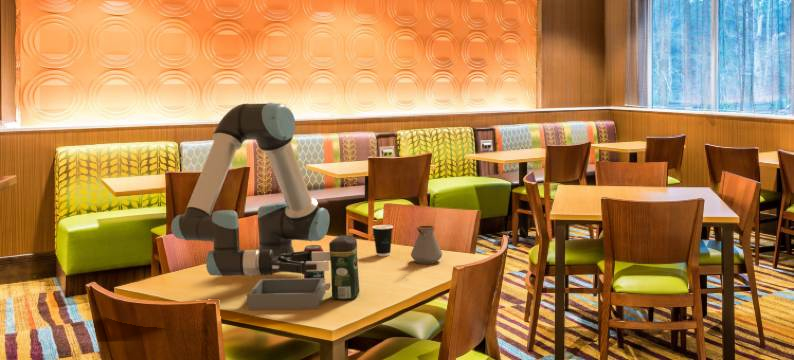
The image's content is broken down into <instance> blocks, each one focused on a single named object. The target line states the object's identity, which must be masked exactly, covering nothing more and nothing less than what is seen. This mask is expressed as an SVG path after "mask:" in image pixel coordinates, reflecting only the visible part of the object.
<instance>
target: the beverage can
mask: <svg viewBox="0 0 794 360" xmlns="http://www.w3.org/2000/svg"><path fill="white" fill-rule="evenodd" d="M309 249H312V252H325V250H324V249H323V248H322V245H319V244H310V245H306V246H304V249H303V251H308V250H309ZM303 262H304V263H305V264H306V262H313V261H312V260H309V261H303ZM305 278H325V271H306V274H303V279H305Z"/></svg>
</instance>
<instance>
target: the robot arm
mask: <svg viewBox="0 0 794 360" xmlns="http://www.w3.org/2000/svg"><path fill="white" fill-rule="evenodd" d="M295 125H296V119H295V115H294V114H293V112H292V110H291V109H290V107H288V106H287V105H285V104H283V103H275V102H268V103H240V104H238V105H236V106H235V107H233V108H231V109H230V110H229V111H228V112H227V113H226V114H225V115H224V116H223V117H222V118H221V119H220V121H219V123H218V124H217V126H216V128H215V130H214V132H213V134H212V137H211V138H212V141H213V143H212V145H211V148H210V150H209V153H208V155H207V158H206V160H205V161H204V162H205V163H204V164H203V167H202V170H201V172H200V175H199V177H198V179H197V181H196V184H195V187H194V189H193V192H192V193H191V195H190V196H191V197H190V199H189V201H188V204H187V206H186V209H185V211H184V213H183V214H178V215H176V216H175V217H174V218H173V220H172V222H171V228H170V229H171V233H172V235H173V236H174V238H177V239H179V240H183V241H201V242H209V243H210V242H211V243H213V249H212V250H210V251H208V252H207V254H206V262H205V265H206V271H207V273H208V275H210V276H218V277H219V276H220V277H228V276H229V277H230V276H249V277H250V278H252V277H253V276H257V275H261V276H265V275H266V276H270V275H273V274H274V273H275V272H283V273H291V274H293V273H294V274H300V275H304V274H306V271H324V272H329V271H330V270H329V269H330V267H329V264H330V263H329V262H331V260H330V252H329V251H324V252H312V249H309V250H308V251H304V250H302V251H301V250H299V251H295V250H294V247H293V244H292V241H293V240H295V241H305V242H307V241H308V242H317V241H318V242H319V241H321V240H323V239H324V238H325V236H326V235H327V233H328V230H329V226H330V213H329V211H328V209H327V208H324V207H320V206H319V204H318V201H317V199H316V198H315V197H312V196H311V194H310V192H309V190H308V187H307V183H306V181H305V177H304V175H303V173H302V170H301V168H300V165H299V163H298V160H297V157H296V154H295V151H294V149H293V146H292V143H291V142H292V141H293V138H294V134H295V132H296V126H295ZM246 140H252V141H253V140H255V142H256V144H257V146H258V148H259V150H260V151H263V152H265V154H266V156H267V159H268V161H269V164H270V166H271V169H272V171H273V173H274V176H275V178H276V181H277V184H278V186H279V189H280V191H281V194H282V196H283V199H284V201H281V202H276V203H269V204H264V205H260V206H259V208H258V209H257V227H258V229H257V230H258V231H257V232H258V249H240V232H239V231H240V229H239V228H240V224H239V220H238V219H239V218H238V216H239V215H238V212H237V211H235V210H233V209H223V210H222V209H220V210H216V211H213V210H214V208H215V204H216V202H217V199H218V197H219V195H220V192H221V189H222V187H223V184H224V182H225V179H226V177H227V175H228V172H229V170H230V167H231V164H232V162H233V160H234V156H235V154H236V152H237V151H238V150H240V149H241V148H242V145H243V143H244V142H245V141H246ZM309 260H312V261H313V262H306V264H305V263H304V262H303V261H309Z"/></svg>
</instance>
